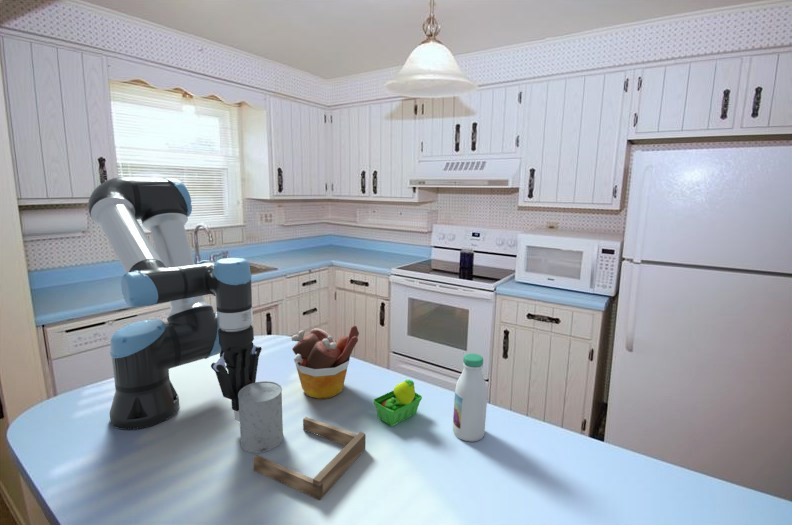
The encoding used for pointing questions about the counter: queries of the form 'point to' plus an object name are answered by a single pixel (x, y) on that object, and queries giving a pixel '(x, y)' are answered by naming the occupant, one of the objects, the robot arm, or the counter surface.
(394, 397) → the fruit basket
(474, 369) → the milk bottle
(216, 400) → the counter surface
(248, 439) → the speckled concrete cylinder
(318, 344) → the bucket of meat
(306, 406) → the counter surface
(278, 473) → the dock
